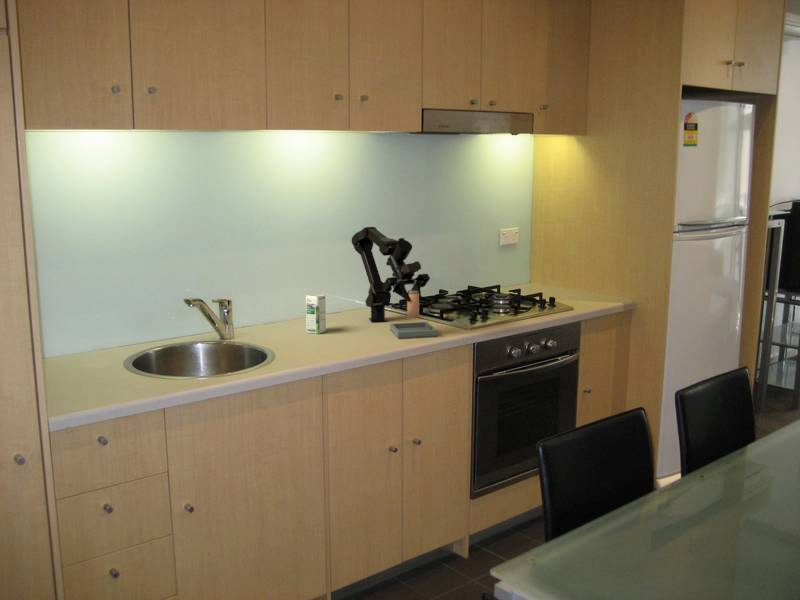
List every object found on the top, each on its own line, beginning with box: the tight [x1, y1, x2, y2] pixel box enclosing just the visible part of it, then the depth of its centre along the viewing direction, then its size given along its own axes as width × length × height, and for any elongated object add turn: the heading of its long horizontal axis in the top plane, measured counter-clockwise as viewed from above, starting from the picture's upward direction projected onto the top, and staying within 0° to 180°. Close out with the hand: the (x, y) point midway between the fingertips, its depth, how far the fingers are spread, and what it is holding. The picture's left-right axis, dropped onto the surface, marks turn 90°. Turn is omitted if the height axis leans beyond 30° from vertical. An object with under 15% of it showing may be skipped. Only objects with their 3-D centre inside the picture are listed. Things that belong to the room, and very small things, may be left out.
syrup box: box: [305, 294, 327, 335], centre depth 306 cm, size 6×6×14 cm
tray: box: [389, 321, 438, 340], centre depth 304 cm, size 15×15×2 cm
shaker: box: [406, 289, 420, 319], centre depth 301 cm, size 4×4×10 cm
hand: (415, 300), depth 299 cm, fingers closed on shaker, 4 cm apart
